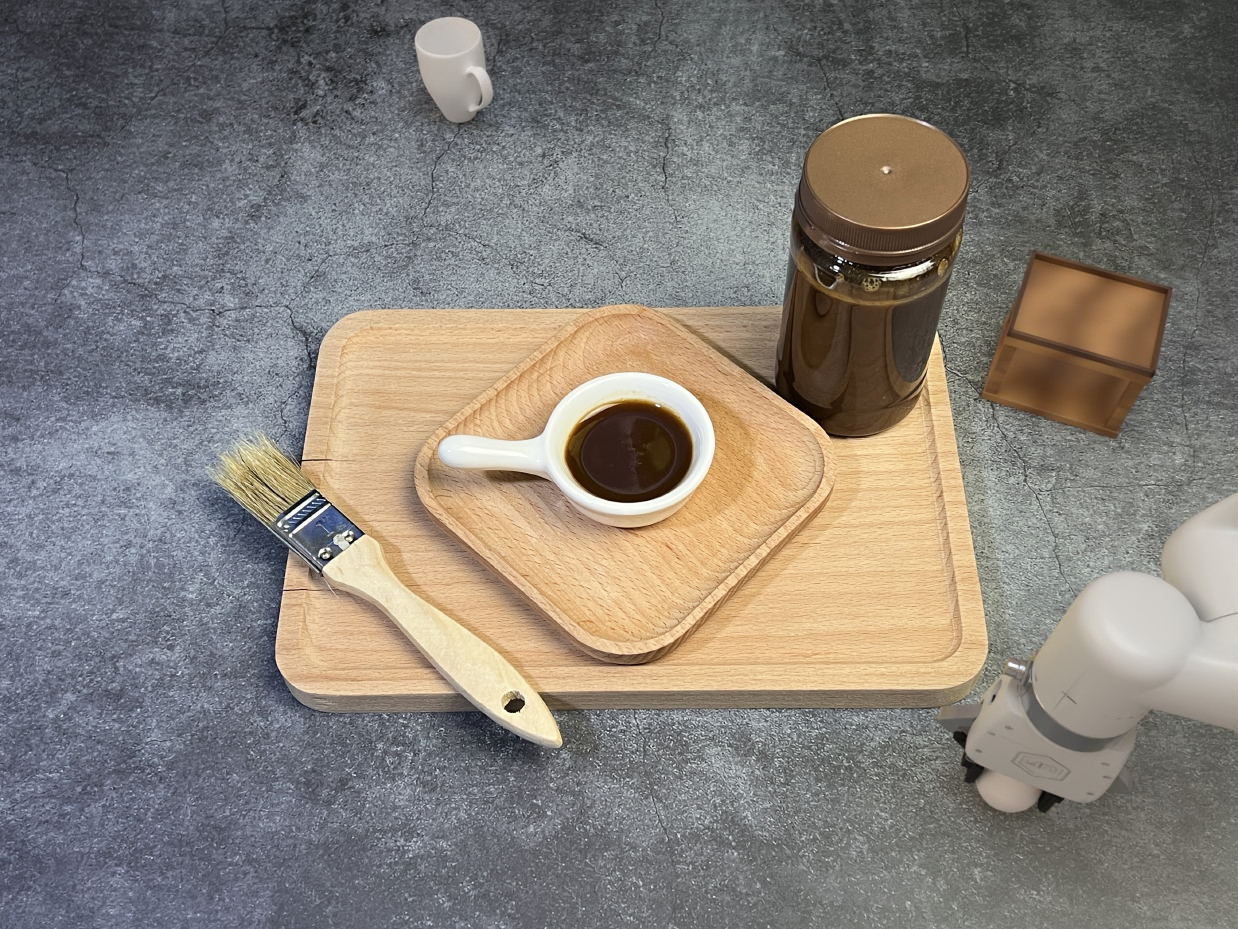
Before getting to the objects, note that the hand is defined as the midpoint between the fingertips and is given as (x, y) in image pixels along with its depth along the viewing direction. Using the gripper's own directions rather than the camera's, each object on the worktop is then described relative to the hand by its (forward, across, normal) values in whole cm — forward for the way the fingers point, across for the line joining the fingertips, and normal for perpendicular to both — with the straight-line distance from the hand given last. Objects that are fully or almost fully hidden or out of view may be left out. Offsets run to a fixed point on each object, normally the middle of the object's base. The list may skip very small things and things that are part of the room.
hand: (1008, 780), depth 91 cm
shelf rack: (+3, -4, +47) cm, 47 cm away
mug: (+3, -83, +61) cm, 103 cm away
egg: (+3, 0, 0) cm, 3 cm away
